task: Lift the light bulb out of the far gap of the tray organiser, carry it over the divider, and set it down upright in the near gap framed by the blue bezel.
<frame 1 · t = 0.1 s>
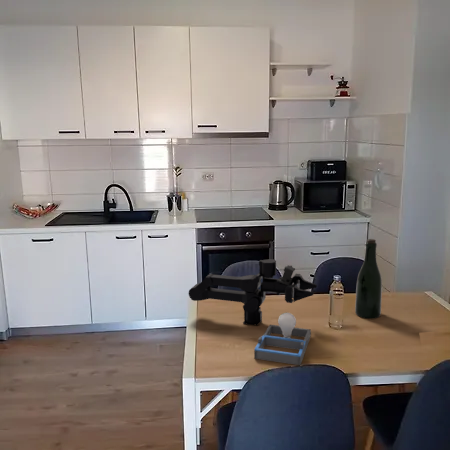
hand: (315, 289, 177), 17 cm above the table, tool horizontal, fingers open, 9 cm apart
tray organiser: (283, 347, 166), on the table
light bulb: (286, 341, 171), resting in tray organiser
green wine bottle: (367, 315, 195), on the table
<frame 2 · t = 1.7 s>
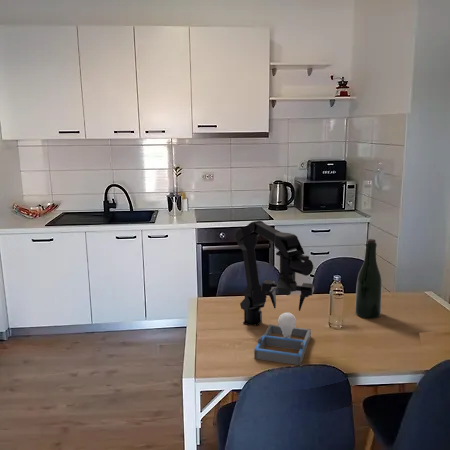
hand: (287, 309, 169), 12 cm above the table, tool pointing down, fingers open, 9 cm apart
nothing on the table moved.
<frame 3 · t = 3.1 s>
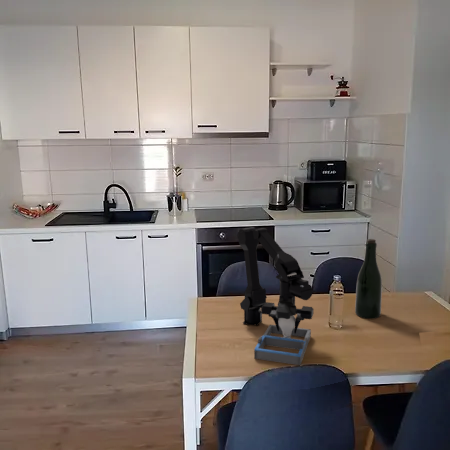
hand: (286, 331, 170), 4 cm above the table, tool pointing down, fingers closed on light bulb, 6 cm apart
light bulb: (286, 341, 171), resting in tray organiser, touching gripper
everything else where it was.
when the fingers open (5 cm above the table, at t = 8.8 s): light bulb drops 1 cm, resting in tray organiser.
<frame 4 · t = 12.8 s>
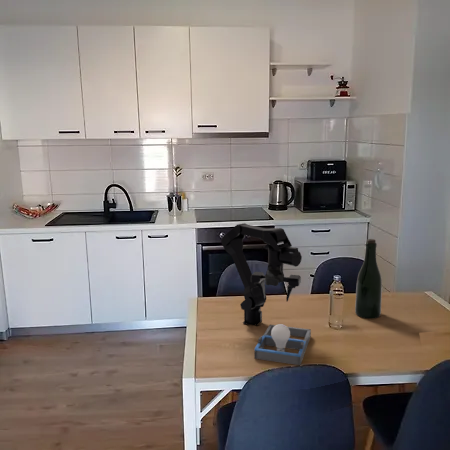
hand: (275, 300, 177), 13 cm above the table, tool pointing down, fingers open, 9 cm apart
light bulb: (280, 354, 161), resting in tray organiser
everything else where it was.
at the end: light bulb inside the target area (0.0 cm from its centre), resting in tray organiser; light bulb tilted 1°; the gripper is holding nothing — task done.
